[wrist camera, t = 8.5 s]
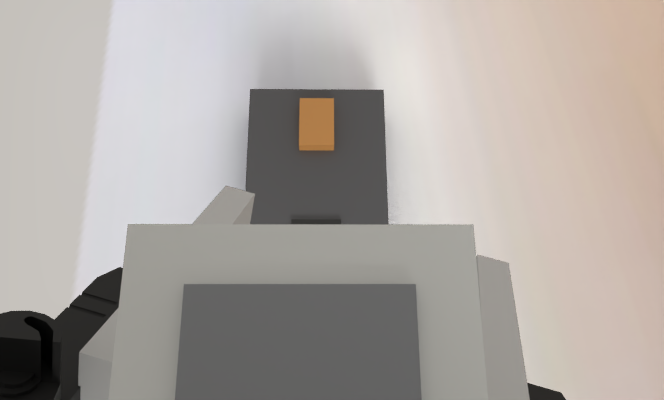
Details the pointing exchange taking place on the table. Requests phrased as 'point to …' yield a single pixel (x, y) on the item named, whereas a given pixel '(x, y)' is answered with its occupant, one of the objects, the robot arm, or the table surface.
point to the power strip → (317, 157)
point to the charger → (299, 313)
